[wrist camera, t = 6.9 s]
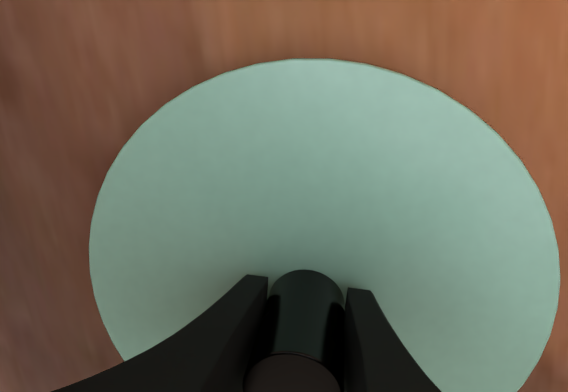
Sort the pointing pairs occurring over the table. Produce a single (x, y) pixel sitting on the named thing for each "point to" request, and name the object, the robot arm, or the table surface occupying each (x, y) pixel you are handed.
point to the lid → (329, 225)
